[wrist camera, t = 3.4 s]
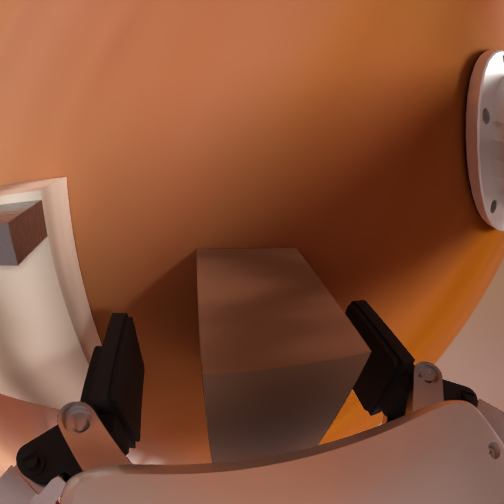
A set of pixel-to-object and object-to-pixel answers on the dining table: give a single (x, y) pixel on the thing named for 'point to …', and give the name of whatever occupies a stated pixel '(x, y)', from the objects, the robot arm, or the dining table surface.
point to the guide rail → (20, 230)
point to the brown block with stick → (271, 352)
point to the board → (45, 308)
